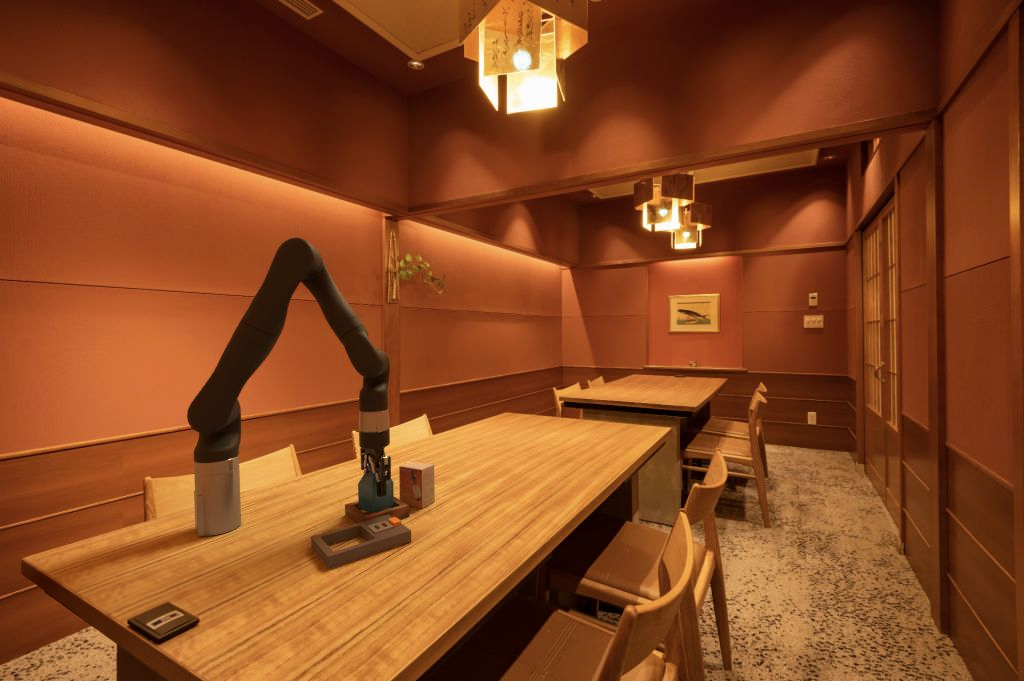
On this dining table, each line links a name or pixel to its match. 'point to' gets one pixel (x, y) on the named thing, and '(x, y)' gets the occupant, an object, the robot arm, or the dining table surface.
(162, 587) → the dining table surface
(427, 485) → the small box
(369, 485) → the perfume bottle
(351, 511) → the walnut tray
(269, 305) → the robot arm
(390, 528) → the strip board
